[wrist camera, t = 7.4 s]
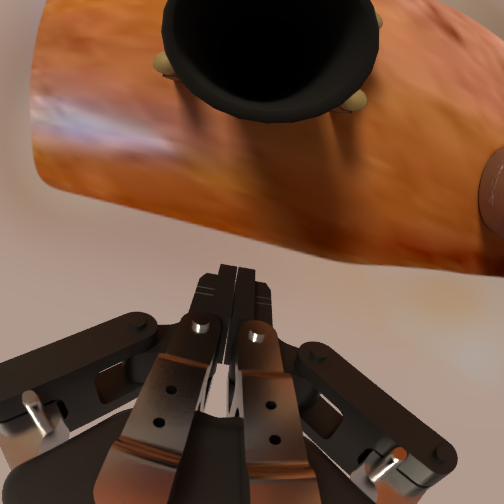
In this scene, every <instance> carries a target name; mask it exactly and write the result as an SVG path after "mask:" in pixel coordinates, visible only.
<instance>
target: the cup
mask: <svg viewBox="0 0 504 504" xmlns="http://www.w3.org/2000/svg"><path fill="white" fill-rule="evenodd" d="M161 33H162V38H163V43H164V49H165V54H166V56H167V58H168V60H169V62H170V64H171V66H172V68H173V70H174V72H175V74H176V76H177V77H178V78H179V79H180V80H181V81H182V82H183V83H184V84H185V86H186V87H187V88H188V89H189V90H190V91H191V92H192V93H193V94H194V95H195V96H197V97H198V98H200V99H201V100H203V101H204V102H206V103H207V104H209V105H210V106H211V107H213V108H214V109H217V110H220V111H222V112H225V113H227V114H230V115H232V116H234V117H237V118H239V119H245V120H251V121H257V122H262V123H293V122H297V121H301V120H305V119H309V118H314V117H318V116H320V115H322V114H324V113H326V112H328V111H330V110H332V109H334V108H336V107H338V106H340V105H342V104H343V103H344V102H345V101H347V100H348V99H349V98H350V97H351V96H352V95H354V94H355V93H356V92H357V91H358V90H359V89H360V88H361V86H362V85H363V83H364V82H365V80H366V79H367V77H368V76H369V74H370V73H371V71H372V69H373V66H374V63H375V60H376V57H377V54H378V50H379V25H378V21H377V17H376V13H375V9H374V6H373V4H372V3H371V1H370V0H168V1H167V3H166V5H165V8H164V12H163V21H162V30H161Z"/></svg>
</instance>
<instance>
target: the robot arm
mask: <svg viewBox="0 0 504 504" xmlns="http://www.w3.org/2000/svg"><path fill="white" fill-rule="evenodd" d="M479 207H480V213H481V216H482V219H483V221H484V223H485V224H486V226H487V227H488V228H490V229H491V230H492V231H493V232H495V233H496V234H498V235H499V236H501V237H502V238H503V239H504V147H503V148H501V149H499V150H498V151H497V152H495V153H494V154H493V156H492V157H491V158H490V159H489V161H488V163H487V165H486V167H485V169H484V172H483V175H482V178H481V183H480V188H479ZM236 273H237V267H236V266H230V265H224V264H221V265H220V269H219V273H218V275H216V274H210V273H206V274H205V275H203V276H202V277H201V278H200V279H199V282H198V285H197V288H196V291H195V294H194V297H193V300H192V303H191V306H190V309H189V312H188V313H187V314H185V315H184V316H183V317H182V318H181V321H180V322H179V323H176V324H172V325H157V321H156V320H155V319H154V318H153V317H152V316H151V315H149V314H146V313H143V312H130V313H127V314H124V315H122V316H119V317H117V318H114V319H112V320H109V321H107V322H104V323H101V324H99V325H97V326H94V327H91V328H89V329H86V330H84V331H81V332H79V333H76V334H74V335H71V336H69V337H66V338H64V339H61V340H58V341H56V342H53V343H51V344H48V345H46V346H43V347H41V348H38V349H36V350H33V351H30V352H28V353H25V354H23V355H20V356H17V357H15V358H13V359H10V360H7V361H5V362H2V363H0V447H1V449H2V451H3V453H4V456H5V458H6V460H7V462H8V464H9V467H10V469H11V472H10V473H9V475H8V476H7V478H6V480H5V482H4V485H3V490H2V501H3V504H417V503H418V501H419V500H420V499H421V497H422V496H423V495H424V493H425V492H426V490H427V489H429V488H430V487H432V486H433V485H434V484H436V483H437V482H439V481H440V480H441V479H442V478H444V477H445V476H447V475H448V474H449V473H450V472H452V471H453V470H454V468H455V467H456V465H457V461H458V457H457V453H456V451H455V449H454V447H453V446H452V445H451V444H450V443H449V442H448V441H446V440H445V439H444V438H443V437H441V436H440V435H439V434H437V433H436V432H435V431H433V430H432V429H431V428H430V427H428V426H427V425H426V424H424V423H423V422H422V421H420V420H419V419H418V418H417V417H416V416H414V415H413V414H412V413H411V412H409V411H408V410H407V409H405V408H404V407H403V406H402V405H401V404H399V403H398V402H397V401H395V400H394V399H393V398H392V397H390V396H389V395H388V394H387V393H385V392H384V391H383V390H382V389H381V388H379V387H378V386H377V385H376V384H374V383H373V382H372V381H371V380H369V379H368V378H367V377H366V376H364V375H363V374H362V373H361V372H360V371H358V370H357V369H356V368H355V367H353V366H352V365H351V364H350V363H349V362H347V361H346V360H345V359H343V357H341V356H340V355H339V354H338V353H336V352H335V351H334V350H333V349H332V348H330V347H329V346H327V345H325V344H323V343H320V342H306V343H304V344H302V345H301V346H300V348H297V347H294V346H291V345H289V344H286V343H284V342H283V341H281V340H280V339H279V338H278V336H277V332H276V331H275V329H274V328H273V325H272V306H271V290H270V289H269V287H268V286H267V284H266V283H263V282H257V281H255V270H254V269H248V268H242V267H239V268H238V273H237V279H236ZM235 280H236V284H235ZM234 287H235V289H234ZM227 333H228V336H227ZM226 339H227V343H226ZM225 344H226V351H225V359H224V364H226V365H229V373H228V378H227V417H226V418H217V417H214V416H211V415H208V414H206V413H204V410H205V407H206V403H207V399H208V395H209V392H210V388H211V384H212V380H213V375H214V374H215V372H216V367H217V363H220V364H222V361H223V355H224V349H225ZM120 362H122V363H120ZM118 363H120V364H118ZM115 364H117V365H115ZM113 365H115V366H113ZM111 366H113V367H111ZM109 367H111V368H109ZM107 368H109V369H107ZM105 369H107V370H105ZM103 370H105V371H103ZM101 371H103V372H101ZM99 372H100V373H99ZM320 394H323V395H324V396H325V397H326V398H327V399H328V400H329V401H330V402H331V403H333V404H334V405H335V406H336V407H337V408H338V409H339V410H340V411H341V413H342V415H343V416H342V415H341V414H339V413H338V412H337V411H336V410H335V409H334V408H333V407H332V406H330V404H328V403H327V402H326V401H325V400H324V399H323V398H322V397H321V396H320ZM137 397H138V398H137ZM135 398H137V400H136V403H135V405H134V407H133V408H131V409H127V410H124V411H121V412H119V413H116V414H114V415H113V416H111V417H109V418H107V419H106V420H104V421H102V422H100V423H98V424H97V425H95V426H93V427H91V428H90V429H88V430H86V431H84V432H82V433H80V434H79V435H77V436H75V437H73V438H71V439H69V432H71V431H73V430H75V429H77V428H79V427H82V426H84V425H85V424H88V423H90V422H92V421H94V420H95V419H97V418H99V417H101V416H103V415H105V414H107V413H109V412H111V411H113V410H115V409H117V408H118V407H120V406H122V405H124V404H126V403H128V402H130V401H132V400H133V399H135ZM303 432H304V433H305V434H306V435H308V437H309V438H311V439H312V441H314V443H316V444H317V445H318V446H319V447H320V448H321V449H322V450H323V451H324V452H325V453H326V454H327V455H328V456H329V457H330V458H331V459H332V460H333V461H335V462H336V463H337V464H338V465H339V466H340V467H341V468H342V469H343V470H344V471H346V472H347V473H348V474H349V475H350V479H349V478H348V477H347V476H346V475H345V474H344V473H343V472H342V471H341V470H340V469H339V468H338V467H337V466H336V465H335V464H334V463H333V462H332V461H331V460H330V459H329V458H328V457H327V456H326V455H325V454H324V453H323V452H322V451H321V450H320V449H319V448H318V447H317V446H316V445H315V444H314V443H313V442H312V441H310V440H309V439H308V438H306V437H305V436H303ZM68 439H69V440H68Z"/></svg>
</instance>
